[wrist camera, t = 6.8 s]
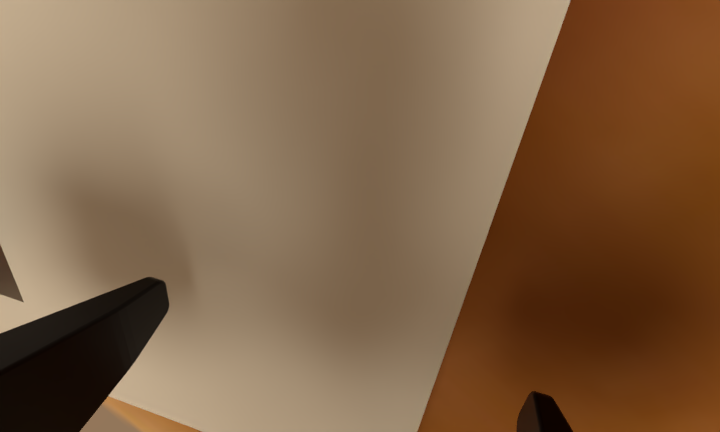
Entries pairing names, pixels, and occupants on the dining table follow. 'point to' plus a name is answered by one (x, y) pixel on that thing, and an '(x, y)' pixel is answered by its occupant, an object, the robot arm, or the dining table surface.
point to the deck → (265, 189)
